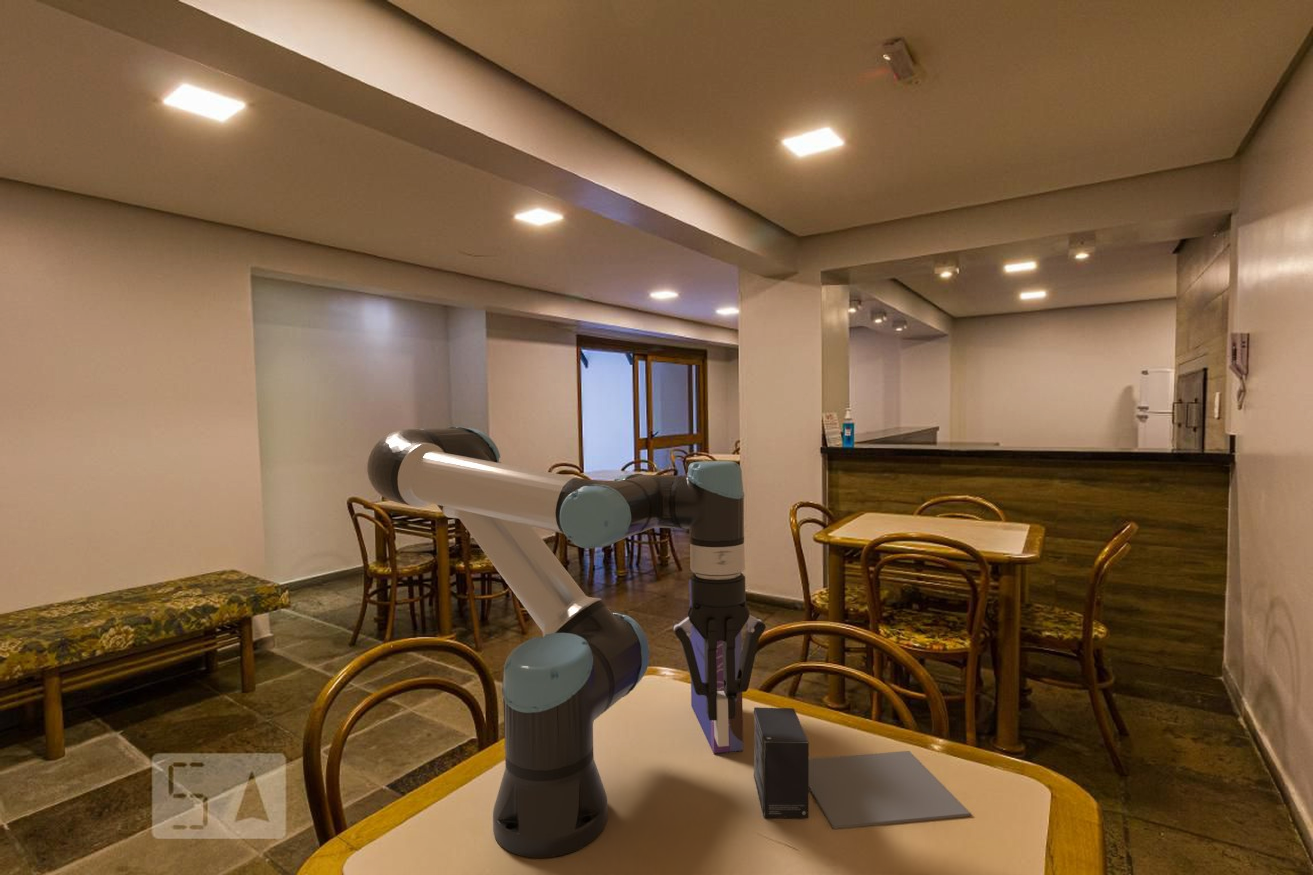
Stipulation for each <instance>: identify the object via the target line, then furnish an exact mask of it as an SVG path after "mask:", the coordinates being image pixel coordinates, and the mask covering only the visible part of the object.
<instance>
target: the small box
mask: <svg viewBox="0 0 1313 875" xmlns="http://www.w3.org/2000/svg"><path fill="white" fill-rule="evenodd" d="M753 716H754V717H753V718H754V720H753V721H754V735H753V736H754V738H753V740H754V744H753V745H754V750H753V751H754V752H753V753H754V754H753V755H754V756H753V759H754V760H753V778H754V782H755V783H754V784H755V788H756V790H757V796H758V801H759V804H760V808H761V812H762V817H763V818H765V819H766V818H767V819H768V818H771V819H773V818H774V819H775V818H781V819H783V818H784V819H787V818H789V819H792V818H793V819H806V818H807V819H808V818H809V799H810V798H809V797H810V796H809V794H810V793H809V791H810V790H809V759H810V757H809V756H810V755H809V753H810V752H809V751H810V750H809V749H810V748H809V747H810V746H809V745H810V743H809V740H808V738H807V735H806V733H805V731H804V728H803V727H802V724H801V722H800V720H799V719H800V718H799V716H798V714H797V712H796V710H795V708H791V707H788V708H787V707H757V706H756V707H753Z"/></svg>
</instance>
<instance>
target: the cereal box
mask: <svg viewBox="0 0 1313 875" xmlns="http://www.w3.org/2000/svg"><path fill="white" fill-rule="evenodd" d="M688 581H689V585H688V586H689V608H690V607H691V578H690V579H688ZM691 631H692V634H691V636H690V637H689V639H690V641H691V643H692V647H693V650H694V654H695V658H696V662H697V665H698V669H699V673H700V676H701V680H702V682H703V683H705V649H704V639H703V637H702V636H701V635H700V634H699V632H698V631H697V630H696V628H695V627H694V626H693V625H692V626H691ZM742 634H743V633H742V630H741V631H740V632H739V634H738V635H737V636H736V638H735V680H736V677H737V672H738V668H739V663H740V658H741V654H742V649H743V646H742V645H743V644H742V642H743V640H742ZM716 661H717V691H724V687H723V649H722V641H721V640H720V641H717V650H716ZM690 695H691V696H690V699H691V700H690V701H691V702H690V705H691V709H692V710H693V712H694V715H695V717H696V719H697V721H698V723H699V725H700V728H701V730H702V732H703V734H704V736H705V739H706V741H707V743H708V744H709V747H710V750H712V753H713V755H724V754H733V753H742V752H744V724H743V720H744V719H743V718H744V717H743V716H744V714H743V692H739V693H738V694H737V697H736V699H735V717H734V719H728V730H729V746H721V747H718V745H717V742H716V740H715V737H714V720H713V721H710V720H709V717H708V715H707V712H706V696H704V695H697V694H696V692H695V689H694V687H693V684H692V680H691V679H690Z"/></svg>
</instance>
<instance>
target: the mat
mask: <svg viewBox="0 0 1313 875" xmlns="http://www.w3.org/2000/svg"><path fill="white" fill-rule="evenodd" d="M809 791H810V793H811V796H813V798H814V800H815V801H816V803H817V805H818V806H819V808H820V809H821V812H822V813H823V814H824V816H825V818H826V819H827V821H828V822H829V824H830V827H831V828H832V829H833V830H839V829H849V828H858V827H869V826H870V827H871V826H879V825H880V826H881V825H889V824H893V825H894V824H901V823H902V824H903V823H912V822H913V823H914V822H923V821H933V820H944V819H956V818H966V817H972V815H971V812H970V811H969V810H968V809H967V808H966V806H964V804H962V803H961V802H960V801H959V800H958V798H956V797H955V796H954V795H953V793H952V792H950V790H949V789H948V788H946V787H945V785H943V783H942V782H940V780H938V778H937V777H936V776H935V775H934V774H933V773H932V772H930V770H929V769H928V768H927V767H926V766H925V765H924V764H923V763H922V762H921V761H920V760H919V758H917V757H916V756H915V755H914V754H913V753H912V752H911V750H904V751H892V752H879V753H878V752H877V753H864V754H854V755H844V756H843V755H842V756H829V757H819V758H818V757H816V758H809Z"/></svg>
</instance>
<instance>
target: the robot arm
mask: <svg viewBox="0 0 1313 875" xmlns="http://www.w3.org/2000/svg"><path fill="white" fill-rule="evenodd" d="M370 451H371V452H370V453H369V456H368V458H367V459H368V460H367V468H366V469H367V470H366V471H367V476H368V477H367V478H368V479H369V481H370V485H371V486H372V487H373V489H374V490H375V491H376V492H377V493H378V494H379V495H380V496H381V497H383V498H384V499H386V500H388V501H391V502H394V503H396V504H401V505H406V506H410V507H416V508H425V507H428V506H430V505H431V504H433V505H436V506H437V507H438V508H439V509H440V512H441V513H442V514H443V515H444V516H445V517H446V518H452V519H459V521H460V522H461V524H463V526H464V527H465V529H466V530H467V531H468V533H469V534H470V535H471V538H473V539H474V541H475V542H476V544H477V545H478V546H479V548H480V549H481V550H482V552H483V554H484V555H485V556H486V557H487V559H488V560H489V561H490V562H491V564H492V565H493V566H494V568H495V570H496V571H497V572H498V573H499V575H500V576H501V577H502V579H503V580H504V581H505V583H506V584H507V585H508V587H509V588H510V590H511V591H512V592H513V594H514V595H515V596H516V598H517V599H518V600H519V602H520V603H521V605H522V606H523V607H524V609H525V610H526V611H527V612H528V614H529V615H530V617H531V618H532V620H533V621H534V622H535V623H536V625H537V626H538V628H539V629H540V630H541V631H542V636H541V637H540V636H535V637H531V638H530V639H528V640H525V641H523V642H521V643H520V644H519V645H517V646H516V647H515V648H514V649H513V650H512V651H511V652H510V653H509V654H508V656H507V658H506V660H505V663H504V667H503V680H502V684H501V685H502V686H501V692H502V693H501V694H502V697H503V700H502V701H503V725H504V726H503V728H504V729H503V730H504V754H505V759H504V760H505V762H504V763H505V766H504V767H505V769H504V771H503V775H502V779H501V782H500V786H499V789H498V792H497V796H496V799H495V802H494V806H493V810H492V828H493V829H492V831H493V835H494V838H495V840H496V841H497V843H498V844H499V845H500V846H501V847H502V848H503V849H505V850H506V851H508V852H509V853H511V854H514V855H517V856H520V857H524V858H525V857H526V858H535V859H537V858H538V859H540V858H541V859H543V858H544V859H547V858H554V857H560V856H563V855H567V854H570V853H573V852H576V851H578V850H580V849H582V848H584V847H586V846H587V845H589V844H590V843H592V842H593V841H594V840H596V839H597V837H599V836H600V835H601V833H602V832H603V830H604V829H605V827H606V825H607V822H608V818H609V814H608V813H609V812H608V810H609V809H608V807H609V806H608V805H609V804H608V796H607V792H606V789H605V787H604V784H603V783H604V782H603V780H602V778H601V776H600V773H599V769H598V767H597V764H596V762H595V758H594V721H595V720H597V719H598V718H599V717H600V716H602V714H604V713H606V711H607V710H609V709H610V708H611V707H612V706H614V705H615V704H616V703H617V702H618V701H620V700H621V699H622V698H624V697H626V696H628V695H629V693H630V692H631V691H633V690H634V689H635V688H636V686H637V685H638V684H639V683H640V682H641V680H642V679H643V678H644V676H645V674H646V672H647V670H648V668H649V667H648V666H649V662H650V661H649V660H650V658H649V656H650V647H649V643H648V639H647V636H646V634H645V632H644V630H643V629H642V627H641V625H640V624H639V623H638V622H637V621H636V620H635V619H634V618H632V617H631V616H629V615H626V614H621V613H619V612H612V611H611V610H610V608H609V607H608V605H607V604H606V603H605V602H604V600H602V598H600V597H590V596H587V595H586V594H585V592H584V591H583V590H582V589H581V587H580V586H579V585H578V583H577V582H576V581H575V580H574V578H573V577H572V576H571V575H570V573H569V572H568V570H566V568H565V567H564V566H563V564H562V562H561V561H560V560H559V559H558V557H557V556H556V555H555V553H553V551H552V549H550V548H549V546H548V545H547V544H546V541H544V540H543V538H542V537H541V535H540V534H539V533H538V532H537V531H536V529H535V528H538V529H541V530H545V531H546V530H547V531H551V532H555V533H560V534H563V535H565V537H566V538H567V539H568V540H569V541H570V542H572V543H573V545H574V546H577V547H579V548H583V549H589V550H590V549H597V548H605V547H609V546H612V545H613V544H615V543H617V542H619V541H621V540H623V539H626V538H628V537H632V536H634V535H637V534H641V533H643V532H645V531H648V530H651V529H656V528H659V529H660V528H663V529H682V530H685V529H687V530H689V531H688V532H689V547H690V548H689V551H690V552H689V555H690V556H689V557H690V558H689V560H690V564H689V566H690V567H689V569H690V570H691V572H692V575H691V576H690V579H691V607H690V606H689V609H688V611H687V612H688V613H687V617H685V618H684V619H683V620H681V621H680V622H677V621H676V622H674V623H673V624H672V629H673V631H674V634H675V636H676V637H677V639H678V640H679V642H680V643H681V647H682V650H683V655H684V658H685V661H686V665H687V669H688V672H689V676H690V681H691V680H692V684H693V687H694V689H695V692H696V694H697V695H704V696H706V712H707V715H708V717H709V720H710V721H713V720H714V737H715V740H716V742H717V745H718V747H721V746H729V730H728V719H734V717H735V699H736V697H737V694H738V693H739V692H742V693H746V692H748V690H749V687H750V682H751V676H752V673H753V669H754V668H753V667H754V663H755V658H756V653H757V649H758V645H759V641H760V640H759V639H761V637H762V635H763V633H764V631H765V630H766V627H767V626H766V624H765V623H764V621H762V620H761V618H760V617H755V616H753V615H751V613H750V610H749V608H748V607H747V604H746V603H747V601H746V600H747V599H746V598H747V597H746V596H747V595H746V575H744V574H743V572H744V571H745V569H746V564H745V563H746V562H745V561H746V560H745V530H744V529H745V525H744V522H745V516H744V514H745V513H744V512H745V510H744V509H745V508H744V507H745V506H744V505H745V503H744V502H745V500H744V499H745V492H744V484H743V472H742V467H741V465H739V464H738V462H735V461H730V460H711V461H710V460H705V461H695V462H694V461H693V462H691V463H689V465H688V467H687V468H688V469H687V473H686V474H685V475H665V474H664V475H663V474H661V475H660V474H643V473H635V474H622V475H618V476H616V477H615V478H614V480H613V481H610V482H603V481H597V480H592V479H587V478H579V477H577V476H571V475H568V474H567V475H566V474H560V473H556V472H550V471H544V470H539V469H534V468H529V467H522V466H518V465H513V464H512V465H511V464H507V463H502V462H500V458H501V453H500V450H499V448H498V447H497V445H496V442H494V440H493V439H492V438H491V437H489V435H487V434H486V433H484V432H483V431H481V430H479V429H476V428H472V427H471V428H470V427H464V426H452V427H451V426H450V427H447V428H404V429H399V430H396V431H393V432H390V433H389V434H386V435H385V436H383V437H382V438H381V439H380V440H379V441H378V442H377V443H376V444H375V445H374V446H373V448H372V450H370ZM692 625H693V626H694V627H695V628H696V630H697V631H698V632H699V634H700V635H701V636H702V637H703V639H704V649H705V683H703V682H702V680H701V676H700V673H699V669H698V665H697V662H696V658H695V654H694V650H693V647H692V643H691V641H690V636H691V634H692V631H691V626H692ZM744 627H745V630H746V632H745V636H744V641H743V644H742V645H743V646H742V654H741V658H740V663H739V668H738V672H737V677H736V680H735V638H736V636H737V635H738V634H739V632H740V631H741V632H742V629H743V628H744ZM720 640H721V641H722V649H723V687H724V691H717V661H716V650H717V641H720Z"/></svg>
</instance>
